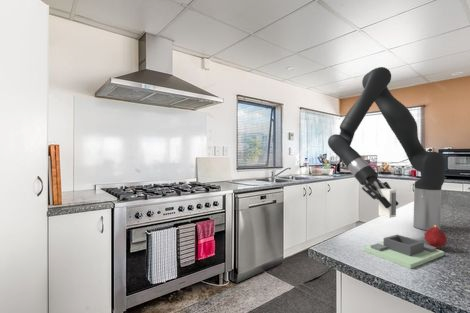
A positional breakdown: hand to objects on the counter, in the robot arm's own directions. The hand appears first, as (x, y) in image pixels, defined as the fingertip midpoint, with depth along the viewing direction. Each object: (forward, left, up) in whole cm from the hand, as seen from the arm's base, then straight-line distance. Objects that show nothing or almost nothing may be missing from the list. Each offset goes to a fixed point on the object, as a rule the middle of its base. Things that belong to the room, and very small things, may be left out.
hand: (392, 206), depth 90 cm
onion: (-6, +11, -13) cm, 18 cm away
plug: (0, -2, -4) cm, 5 cm away
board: (+8, +8, -13) cm, 17 cm away
